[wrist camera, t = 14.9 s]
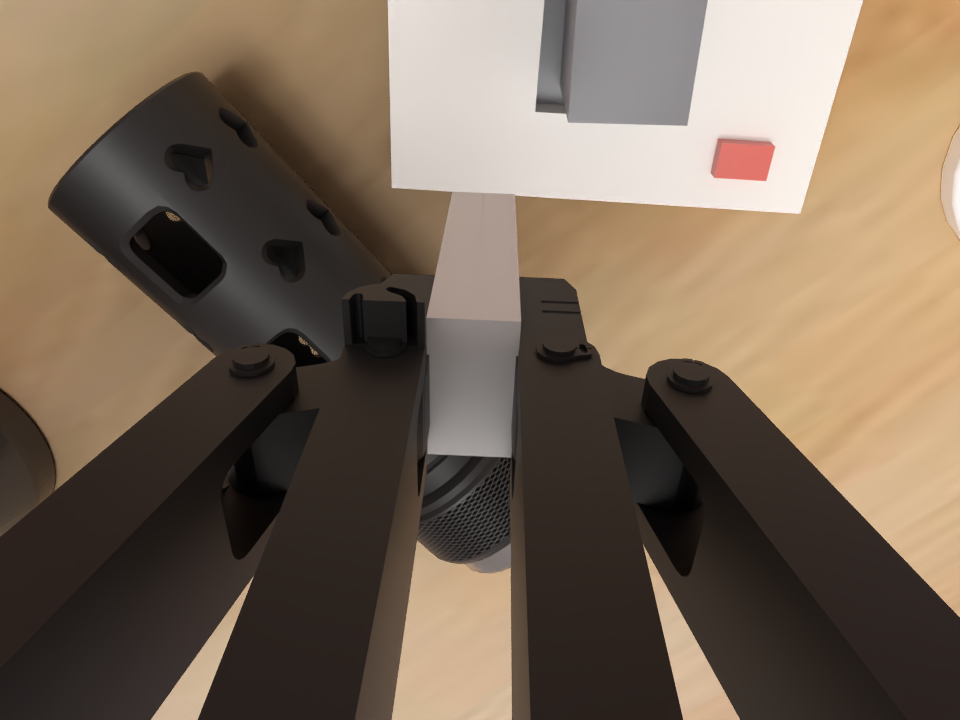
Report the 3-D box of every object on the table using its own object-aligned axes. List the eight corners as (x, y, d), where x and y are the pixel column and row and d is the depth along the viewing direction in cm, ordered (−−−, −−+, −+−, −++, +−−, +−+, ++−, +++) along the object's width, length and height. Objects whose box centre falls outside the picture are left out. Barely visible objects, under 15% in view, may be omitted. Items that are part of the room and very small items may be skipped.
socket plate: (399, 173, 37) (389, 192, 34) (394, -218, 28) (379, -236, 25) (783, 197, 36) (805, 219, 33) (893, -195, 28) (934, -210, 25)
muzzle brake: (239, 48, 34) (138, 87, 25) (574, 419, 44) (585, 539, 36) (125, 169, 38) (1, 240, 29) (460, 487, 48) (445, 612, 39)
